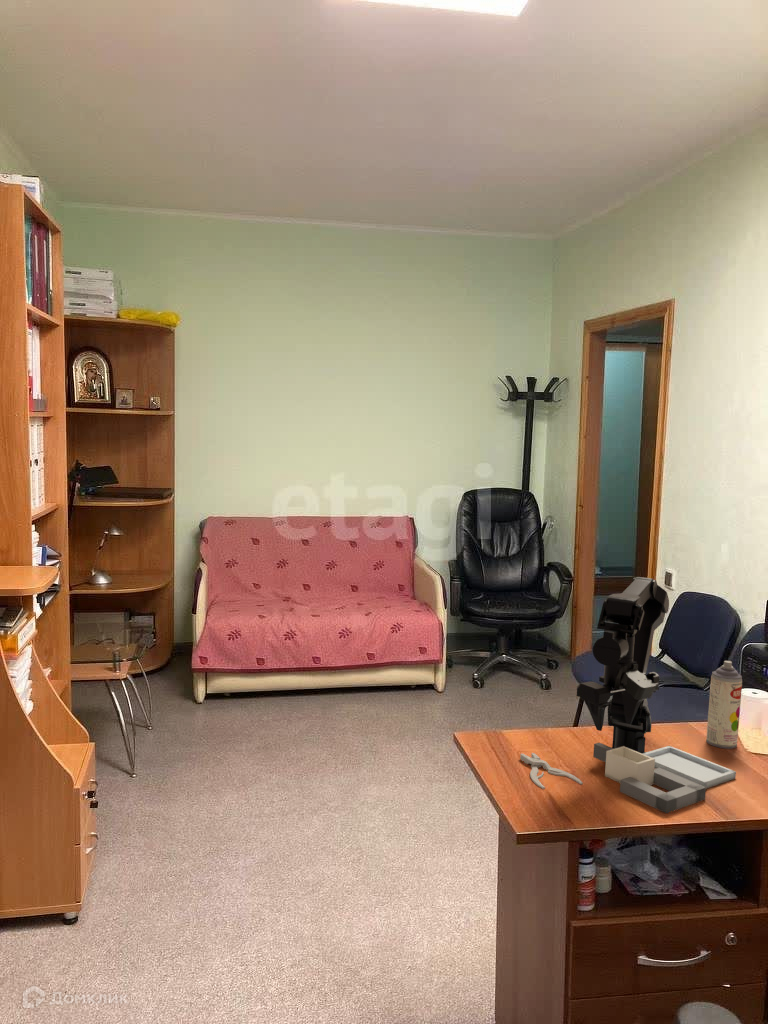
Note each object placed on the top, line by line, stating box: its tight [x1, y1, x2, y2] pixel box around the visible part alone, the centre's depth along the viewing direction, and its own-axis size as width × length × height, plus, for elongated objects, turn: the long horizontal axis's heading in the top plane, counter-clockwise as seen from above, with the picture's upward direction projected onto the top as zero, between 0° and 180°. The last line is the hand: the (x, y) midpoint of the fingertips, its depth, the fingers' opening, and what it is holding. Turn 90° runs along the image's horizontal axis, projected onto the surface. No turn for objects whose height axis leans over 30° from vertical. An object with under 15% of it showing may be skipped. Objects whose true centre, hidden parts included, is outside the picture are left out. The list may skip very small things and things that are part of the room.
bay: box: [619, 768, 707, 814], centre depth 162 cm, size 11×12×2 cm
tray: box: [643, 745, 737, 790], centre depth 176 cm, size 17×11×2 cm
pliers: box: [519, 752, 584, 790], centre depth 171 cm, size 10×2×15 cm
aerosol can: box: [705, 660, 743, 750], centre depth 192 cm, size 7×7×20 cm
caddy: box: [592, 742, 655, 786], centre depth 171 cm, size 13×6×6 cm, turn 35°
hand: (614, 727), depth 171 cm, fingers open, 9 cm apart
